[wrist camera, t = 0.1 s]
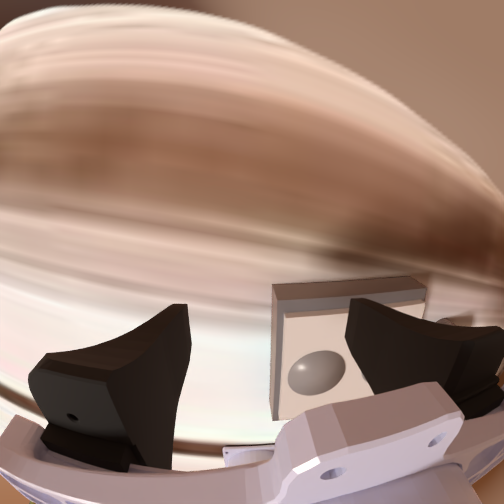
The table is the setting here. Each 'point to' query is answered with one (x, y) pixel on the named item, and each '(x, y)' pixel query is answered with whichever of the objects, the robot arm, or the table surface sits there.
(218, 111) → the table surface
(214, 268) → the table surface
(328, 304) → the scale
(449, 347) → the robot arm
